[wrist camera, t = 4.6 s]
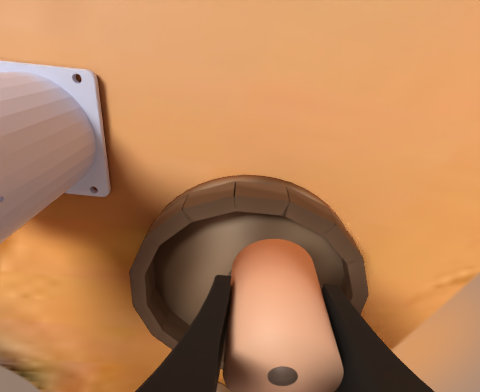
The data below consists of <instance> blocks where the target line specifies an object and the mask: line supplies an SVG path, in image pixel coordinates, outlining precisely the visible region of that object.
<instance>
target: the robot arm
mask: <svg viewBox="0 0 480 392" xmlns="http://www.w3.org/2000/svg"><path fill="white" fill-rule="evenodd" d="M76 74H79V75H80V76H81V79H82V81H81V83H80V82H78V81H77V79H76ZM93 187H96V188H97V190H98V191H96V190H94V189H93ZM110 192H111V187H110V178H109V170H108V162H107V153H106V145H105V137H104V129H103V120H102V112H101V104H100V95H99V87H98V79H97V76H96V75H95V73H94V72H92V71H91V70H88V69H79V68H70V67H60V66H51V65H41V64H31V63H22V62H12V61H3V60H0V244H1V243H2V242H3V241H4V240H6V239H7V238H8V237H9V236H11V235H12V234H13V233H14V232H16V231H17V230H18V229H19V228H21V227H22V226H23V225H24V224H26V223H27V222H28V221H29V220H31V219H32V218H33V217H34V216H36V215H37V214H38V213H39V212H41V211H42V210H43V209H44V208H46V207H47V206H48V205H49V204H51V203H52V202H53V201H54V200H56V199H57V198H58V197H59V196H61V195H62V194H63V193H67V194H77V195H87V196H97V197H106V196H107V195H108V194H109V193H110ZM230 287H231V276H227V275H216V276H215V278H214V281H213V284H212V287H211V289H210V291H209V293H208V296H207V298H206V300H205V301H204V303H203V305H202V307H201V309H200V311H199V312H198V314H197V316H196V317H195V319H194V320H193V322H192V324H191V325H190V327H189V328H188V330H187V331H186V333H185V334H184V336H183V337H182V338H181V340H180V341H179V342H178V344H177V345H176V346H175V348H174V349H173V350H172V351H171V353H170V354H169V355H168V356H167V358H166V359H165V360H164V361H163V362H162V364H161V365H160V366H159V367H158V368H157V369H156V370H155V372H154V373H153V374H152V375H151V376H150V377H149V378H148V379H147V380H146V381H145V382H144V383H143V384H142V385H141V386H140V387H139V388H138V389H137V390H136V391H135V392H216V390H217V384H218V378H219V372H220V367H221V361H222V355H223V350H224V344H225V338H226V329H227V318H228V309H229V299H230ZM321 291H322V295H323V298H324V302H325V305H326V309H327V312H328V316H329V319H330V323H331V326H332V330H333V333H334V337H335V340H336V344H337V347H338V351H339V354H340V358H341V361H342V365H343V371H344V373H343V379H342V382H341V383H340V385H339V387H338V388H337V389H336V390H335V391H334V392H434V391H433V390H432V389H431V388H430V387H429V386H427V385H426V384H425V383H424V382H423V381H422V380H420V379H419V378H418V377H417V376H416V375H415V374H414V373H413V372H412V371H411V370H410V369H409V368H408V367H407V366H406V365H405V364H404V363H402V361H400V359H399V358H397V356H396V355H395V354H394V353H393V352H392V351H391V350H390V349H389V348H388V347H387V346H386V345H385V344H384V342H383V341H382V340H381V339H380V338H379V337H378V336H377V335H376V333H375V332H374V331H373V330H372V329H371V327H370V326H369V325H368V324H367V323H366V321H365V320H364V319H363V318H362V316H361V315H360V314H359V313H358V311H357V310H356V309H355V307H354V306H353V305H352V303H351V302H350V301H349V300H348V298H347V297H346V296H345V294H344V293H343V292H342V290H341V289H340V288H339V286H338V285H334V284H323V287H322V290H321Z"/></svg>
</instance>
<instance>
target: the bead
mask: <svg viewBox="0 0 480 392" xmlns="http://www.w3.org/2000/svg"><path fill="white" fill-rule="evenodd" d="M343 373H344V371H343V365H342V361H341V358H340V354H339V351H338V347H337V344H336V340H335V337H334V333H333V330H332V326H331V323H330V319H329V316H328V312H327V309H326V305H325V302H324V298H323V295H322V291H321V288H320V284H319V281H318V277H317V274H316V270H315V267H314V263H313V260H312V258H311V256H310V255H309V254H308V252H307V251H306V250H305V249H303V248H302V247H301V246H299V245H297V244H295V243H293V242H290V241H287V240H282V239H266V240H261V241H257V242H255V243H252V244H250V245H248V246H247V247H245V248H244V249H243V250H242V251H240V252H239V254H238V255H237V256H236V258H235V260H234V262H233V265H232V271H231V287H230V299H229V309H228V318H227V329H226V341H225V353H224V365H223V378H224V381H225V384H226V385H227V387H228V388H229V389H230V391H231V392H334V391H335V390H336V389H337V388H338V387H339V385H340V383H341V382H342V379H343Z"/></svg>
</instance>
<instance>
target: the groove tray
mask: <svg viewBox="0 0 480 392" xmlns="http://www.w3.org/2000/svg"><path fill="white" fill-rule="evenodd" d="M266 239H282V240H287V241H290V242H293V243H295V244H297V245H299V246H301V247H302V248H303V249H305V250H306V251H307V252H308V254H309V255H310V256H311V258H312V260H313V263H314V267H315V270H316V274H317V277H318V281H319V284H320V288H321V290H322V287H323V284H334V285H338V286H339V288H340V289H341V290H342V292H343V293H344V294H345V296H346V297H347V298H348V300H349V301H350V302H351V303H352V305H353V306H354V307H355V309H356V310H357V311H358V313H359V314H361V312H362V309H363V307H364V305H365V302H366V300H367V297H368V287H367V280H366V274H365V267H364V260H363V257H362V255H361V253H360V251H359V249H358V247H357V245H356V244H355V242H354V240H353V238H352V237H351V236H350V234H349V233H348V232H347V230H346V229H345V227H344V225H343V223H342V222H341V220H340V219H339V217H338V216H337V214H336V213H335V212H334V211H333V210H332V209H331V208H330V207H329V206H328V205H327V204H326V203H325V202H324V201H323V200H321V199H320V198H319V197H318V196H316V195H314V194H313V193H311V192H310V191H308V190H306V189H305V188H302V187H300V186H298V185H295V184H293V183H291V182H287V181H284V180H280V179H277V178H272V177H265V176H256V175H239V176H228V177H223V178H218V179H214V180H211V181H208V182H205V183H202V184H199V185H197V186H195V187H193V188H191V189H189V190H187V191H185V192H184V193H182V194H181V195H179V196H178V197H177V198H175V199H174V200H173V201H172V202H171V203H170V204H169V205H167V206H166V207H165V209H164V210H163V211H162V212H161V214H160V215H159V216H158V217H157V218H156V219H155V220H154V222H153V224H152V226H151V227H150V229H149V231H148V233H147V235H146V237H145V239H144V241H143V243H142V245H141V247H140V249H139V252H138V254H137V256H136V258H135V260H134V262H133V265H132V267H131V269H130V272H129V273H130V283H131V292H132V302H133V307H134V308H135V310H136V311H137V313H138V314H139V316H140V317H141V319H142V320H143V322H144V323H145V325H146V327H147V328H148V330H149V331H150V333H151V334H152V335H153V336H154V337H156V338H157V339H158V340H160V341H161V342H163V343H164V344H165V345H167V346H168V347H169V348H171V349H172V350H173V349H174V348H175V346H176V345H177V344H178V342H179V341H180V340H181V338H182V337H183V336H184V334H185V333H186V331H187V330H188V328H189V327H190V325H191V324H192V322H193V320H194V319H195V317H196V316H197V314H198V312H199V311H200V309H201V307H202V305H203V303H204V301H205V300H206V298H207V296H208V293H209V291H210V289H211V287H212V284H213V281H214V278H215V276H216V275H227V276H231V271H232V265H233V262H234V260H235V258H236V256H237V255H238V254H239V252H240V251H242V250H243V249H244V248H245V247H247V246H248V245H250V244H252V243H255V242H257V241H261V240H266ZM225 341H226V338H225ZM224 353H225V344H224V350H223V355H222V361H221V367H220V369H223V365H224Z"/></svg>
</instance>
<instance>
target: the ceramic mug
mask: <svg viewBox="0 0 480 392" xmlns="http://www.w3.org/2000/svg"><path fill="white" fill-rule="evenodd" d="M216 392H231V391H230V389H229V388H228V387H226V386H225V385H223V384H221V383H218V384H217V390H216Z"/></svg>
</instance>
